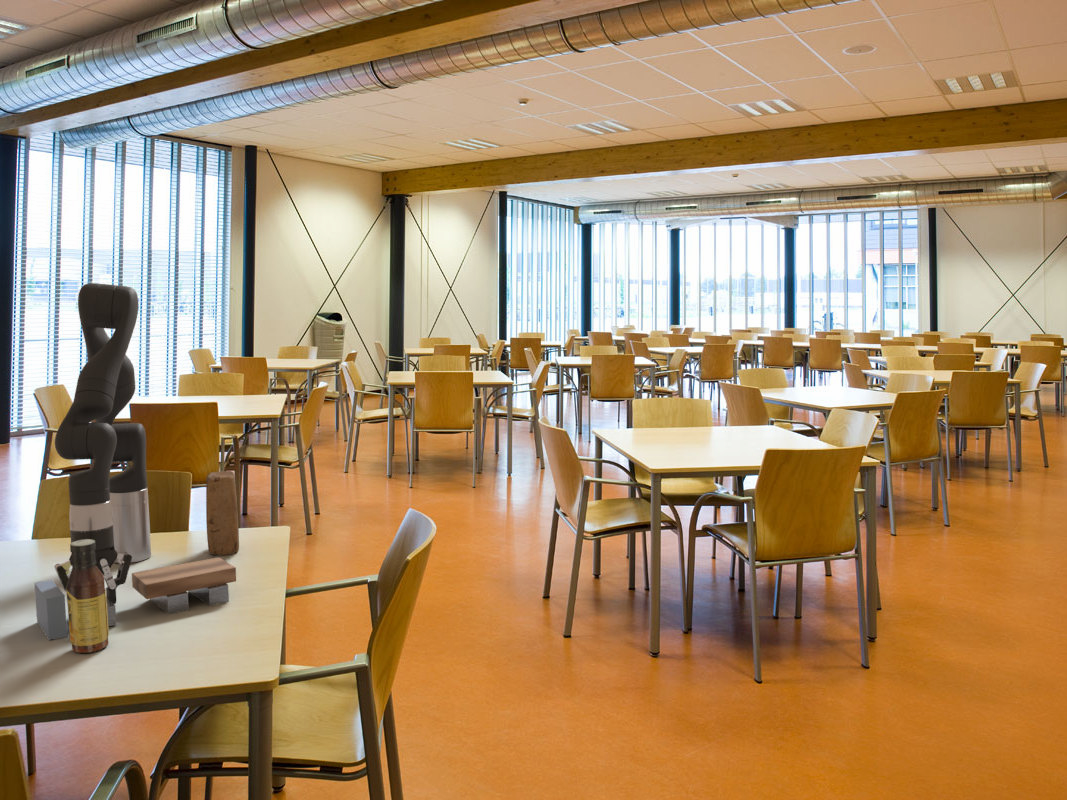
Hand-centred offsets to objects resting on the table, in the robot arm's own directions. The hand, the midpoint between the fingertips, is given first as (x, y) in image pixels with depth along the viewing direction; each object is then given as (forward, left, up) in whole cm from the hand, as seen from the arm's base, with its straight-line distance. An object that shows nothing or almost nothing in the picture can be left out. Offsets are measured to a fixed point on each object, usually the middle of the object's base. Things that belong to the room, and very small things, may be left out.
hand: (96, 609), depth 173 cm
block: (-33, +36, -2) cm, 49 cm away
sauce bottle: (+15, -5, -2) cm, 16 cm away
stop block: (0, -8, -2) cm, 8 cm away
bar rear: (0, +22, -3) cm, 22 cm away
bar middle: (0, +14, -3) cm, 14 cm away
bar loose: (0, 0, -2) cm, 2 cm away
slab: (0, +17, +1) cm, 17 cm away
